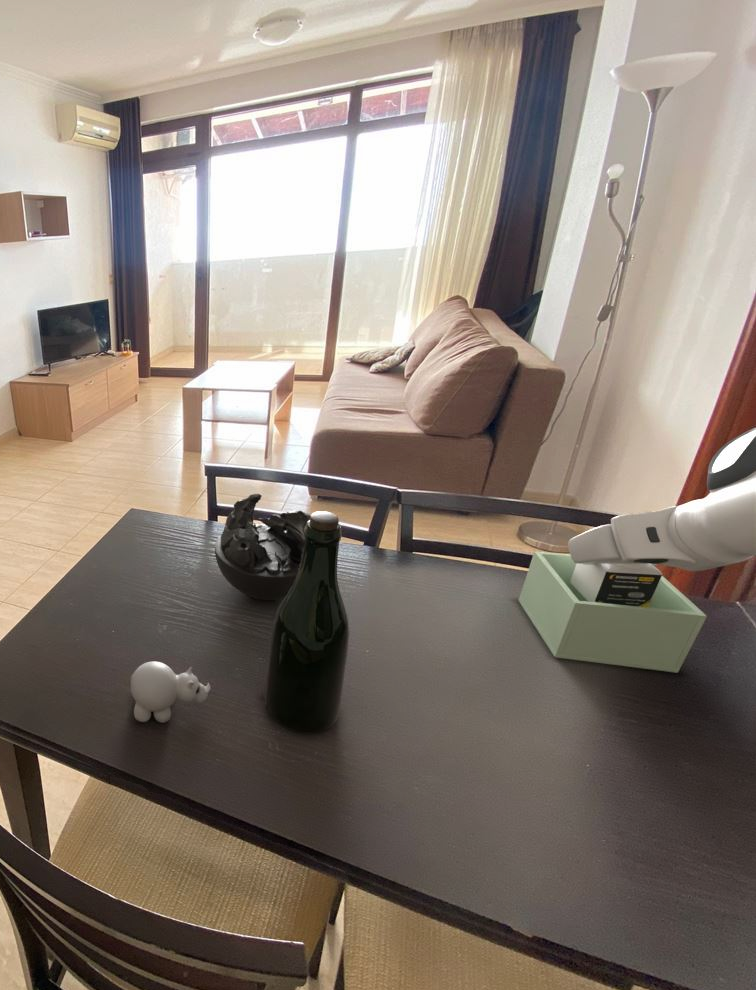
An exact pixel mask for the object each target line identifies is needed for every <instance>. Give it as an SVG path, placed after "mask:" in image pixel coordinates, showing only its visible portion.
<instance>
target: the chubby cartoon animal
mask: <svg viewBox="0 0 756 990" xmlns="http://www.w3.org/2000/svg"><path fill="white" fill-rule="evenodd" d="M129 679H130V692H131V694H132V697H133V699H134V701H135V704H134V708H133V716H134V718H135V720H136V721H138V722H139V723H147V722H148V721H149V720H150V719H151V717H152V712H153V717H154V719H155V720H156V721H157V722H158V723H161V724H163V723H168V721H170V719H171V718H172V717H171V716H172V712H171V706H172V705H173V704H174V703H175V701H176V700H177V699H178V700H180V701H181V702H184V703H191V702H195V703H197V704H201V703H204V702H205V701H206V700H207V699H208V697H209V692H210V691H211V687H212V686H211V684H210V683H209V682H207V684H206V685H204V684H203V683H201V682H199V678H198V677H197V676H196V675H195V674H194V673H193V667H192V666H190V667H189V668H188V669H187V670H186V671H185V672H182V673H179V674H176V673H175V672H174V671H173V669H172V668H171V667H169V666H168V665H167V664H165V663H163V662H161V661H153V660H152V661H148V662H144V663H142V664H141V665H140V666H138V667H137V668H136V669H135V671H134V672H133V674H131V675H130V678H129Z"/></svg>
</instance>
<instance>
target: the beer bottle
mask: <svg viewBox="0 0 756 990" xmlns="http://www.w3.org/2000/svg"><path fill="white" fill-rule="evenodd" d="M310 515H311V517H310V521H308V522H307V523H306V526H305V528H304V544H303V551H302V557H301V562H300V566H299V569H298V573H297V575H296V577H295V580H294V581H293V583H292V585H291V586H290V588H289V590H288V591H287V593H286V594H285V596H284V597H283V599H281V601H280V602H279V604H278V606H277V609H276V612H275V615H274V617H273V623H272V630H271V636H270V645H269V652H268V653H269V654H268V660H267V661H268V662H267V671H266V678H265V679H266V680H265V690H264V691H265V692H264V693H265V694H264V702H265V707H266V708H267V711H268V713H270V715H271V716H272V718H273V719H274V720H275V721H276V722H278V723H279V724H280V725H282V726H283V727H285V728H287V729H288V730H291V731H294V732H297V733H303V734H319V733H323V732H325V731H327V730H329V729H330V728H332V727H333V726H334V725H335V723H336V722H337V720H338V717H339V713H340V708H341V703H342V696H343V689H344V683H345V682H344V681H345V677H346V676H345V675H346V669H347V668H346V667H347V661H348V653H349V644H350V624H349V616H348V613H347V610H346V606H345V603H344V600H343V598H342V594H341V591H340V588H339V587H340V586H339V581H338V559H339V548H340V542H341V540H342V536H343V532H342V526H341V525H340V524H339V523H340V522H339V521H340V519H339V516H338V515H337V514H335V513H333V512H330V511H320V510H319V511H315V512H313V513H311V514H310Z"/></svg>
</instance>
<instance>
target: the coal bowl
mask: <svg viewBox="0 0 756 990" xmlns="http://www.w3.org/2000/svg"><path fill="white" fill-rule="evenodd" d="M262 496H263V495H261V494H260V493H257V492H256V493H255V492H254V493H252V494H250V495H248V497H246V498H245V497H244V498H242V499H240V500H237V501H236V502H235V503H234V504H233V508H234V510H232V511H231V512H229V514H228V515H227V517H226V519H225V525H224V528H223V531H222V533H221V534H220V535H219V537H217V539H216V540H215V544H214V554H215V555H214V556H215V560H216V563H217V566H218V568H219V570H220V572H221V574H222V575H223V577H224V578H225V580H226V581H227V582H228V583H229V584H230V585H231V586H232V587H233V588H234V589H236V590H237V591H239V592H240V593H242V594H244V595H245V596H248V597H251V598H254V599H256V600H263V601H277V600H282V599H283V597H284V596H285V594H286V593H287V591H288V590H289V588H290V586H291V585H292V583H293V581H294V580H295V577H296V575H297V573H298V569H299V566H300V562H301V557H302V551H303V544H304V528H305V526H306V523H307V522H308V521H310V517H311V514H309V513H308V512H305V511H302V510H298V511H297V510H289V511H285V512H282V513H280V514H270V516H269V518H268V517H263V518H259V521H260V522H261V524H258V523H257V524H256V523H254V513H255V508H256V506H257V504H258V503H259V501H261V498H262Z"/></svg>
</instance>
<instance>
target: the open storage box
mask: <svg viewBox="0 0 756 990" xmlns="http://www.w3.org/2000/svg"><path fill="white" fill-rule="evenodd" d="M576 564H577V563H575V562H574V561H573V560H572V558H571V555H570V553H562V552H561V553H560V552H547V551H536V550H534V552H533V554H532V558H531V561H530V563H529V567H528V570H527V573H526V576H525V579H524V582H523V585H522V588H521V592H520V594H519V598H518V602H519V604H520V605H521V607H522V609H523V610H524V612H525V613H526V615H527V616H528V618H529V620H530V621H531V623H532V624H533V626H534V627H535V629H536V630H537V632H538V633H539V635H540V637H541V638H542V640H543V641H544V643H545V645H546V646H547V647H548V649H549V651H550V652H551V654H552V655H553V657H555V658H557V659H565V660H566V659H567V660H573V661H581V662H590V663H598V664H604V665H605V664H606V665H613V666H620V667H629V668H630V667H631V668H637V669H646V670H652V671H661V672H667V673H668V672H669V673H676V674H677V673H680V672H679V671H680V670H681V667H683V664H684V662H685V661H686V658H687V656H688V654H689V652H690V651H691V648H692V646H693V644H694V642H695V641H696V639H697V637H698V636H699V633H700V631H701V629H702V627H703V626H704V623H705V621H706V619H707V617H708V615H707V614H705V613H704V612H703V611H702V610H701V609H700V608H699V607H698V606H696V605H695V603H693V602H692V601H691V600H690V599H689V598H688V597H687V596H686V595H685V594H683V593H682V592H681V591H680V590H679V589H678V588H676V587H675V586H674V585H673V584H672V583H671V582H670V581H669V580H668V579H666V578H665V576H664V575H662V576H661V579H660V581H659V583H658V585H657V588H656V590H655V592H654V594H653V597H652V599H651V601H650V603H649V606H648V607H638V606H627V605H617V604H607V603H597V602H588V601H587V600H586V599H585V598H584V597H583V595H582V594H581V593H580V592H579V591H578V590H577V589H576V588H575V587H574V586H573V585H572V584H571V583H570V580H571V578H572V575H573V572H574V569H575V567H576Z"/></svg>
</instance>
